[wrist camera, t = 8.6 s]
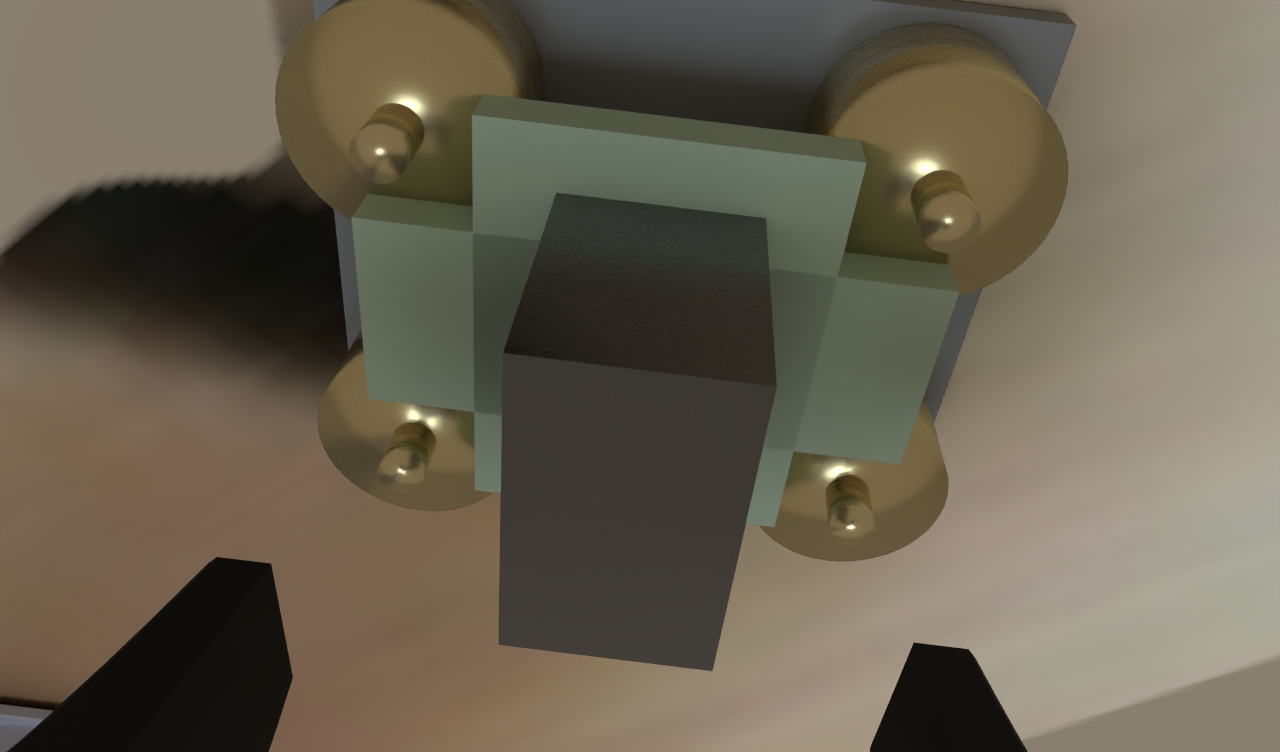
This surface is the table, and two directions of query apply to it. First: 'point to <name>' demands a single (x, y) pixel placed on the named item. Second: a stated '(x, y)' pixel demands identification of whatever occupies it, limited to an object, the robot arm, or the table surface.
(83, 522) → the table surface
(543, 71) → the chassis
